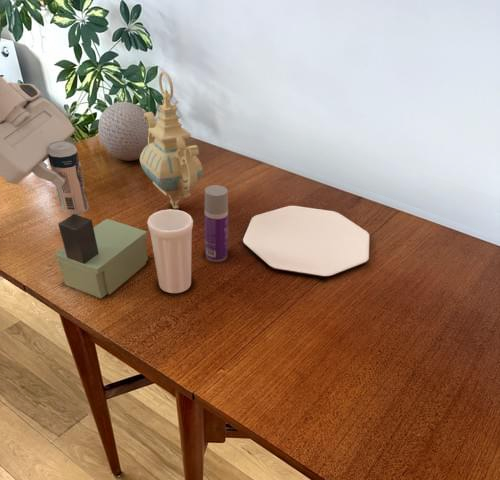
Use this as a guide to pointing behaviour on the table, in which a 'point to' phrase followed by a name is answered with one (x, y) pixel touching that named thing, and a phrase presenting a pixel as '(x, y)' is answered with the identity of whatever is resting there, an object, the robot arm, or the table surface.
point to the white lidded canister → (68, 177)
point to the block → (78, 238)
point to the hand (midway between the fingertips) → (71, 176)
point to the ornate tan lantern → (170, 152)
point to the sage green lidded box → (107, 259)
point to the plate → (307, 241)
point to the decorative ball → (124, 130)
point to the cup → (172, 248)
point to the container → (216, 223)
